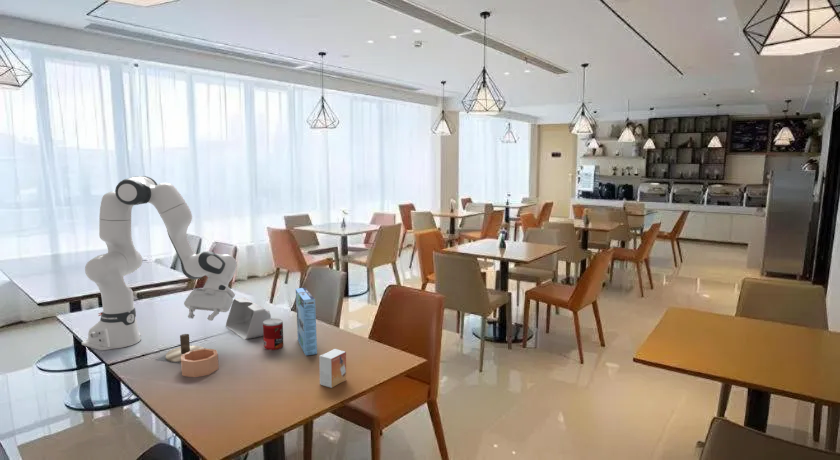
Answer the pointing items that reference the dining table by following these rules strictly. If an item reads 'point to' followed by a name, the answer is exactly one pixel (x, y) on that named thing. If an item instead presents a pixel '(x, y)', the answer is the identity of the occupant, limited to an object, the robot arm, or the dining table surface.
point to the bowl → (199, 362)
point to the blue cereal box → (306, 321)
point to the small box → (332, 368)
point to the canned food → (273, 334)
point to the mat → (165, 359)
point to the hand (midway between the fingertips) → (199, 318)
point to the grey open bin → (247, 318)
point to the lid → (181, 349)
